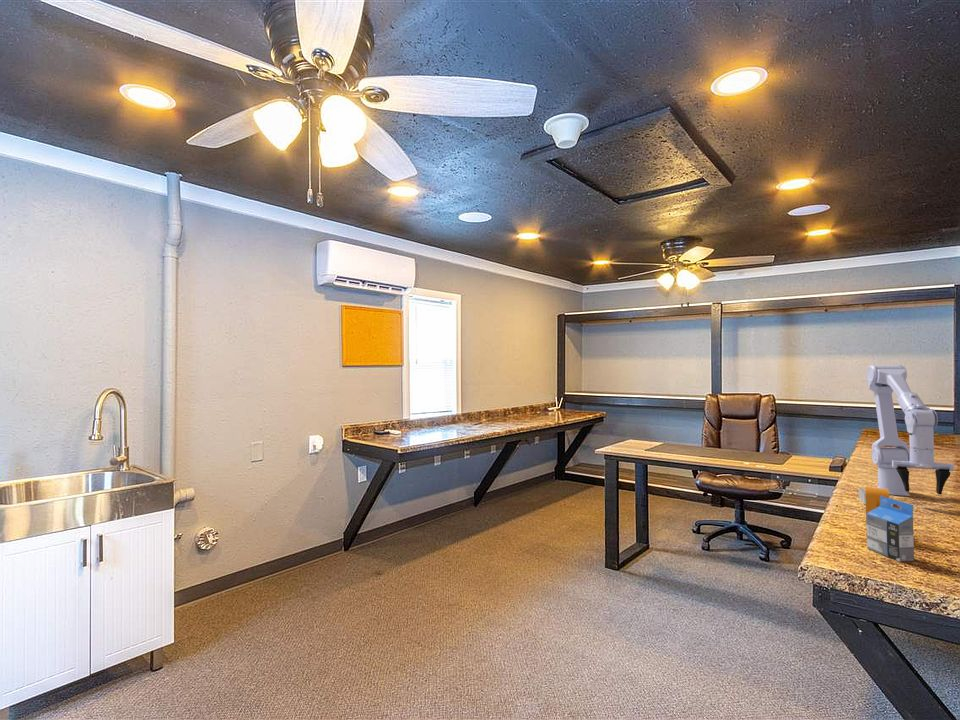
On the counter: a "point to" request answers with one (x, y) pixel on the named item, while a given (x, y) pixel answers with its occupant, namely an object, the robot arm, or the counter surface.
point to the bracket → (874, 498)
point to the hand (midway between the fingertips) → (922, 492)
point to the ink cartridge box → (891, 530)
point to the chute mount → (864, 496)
